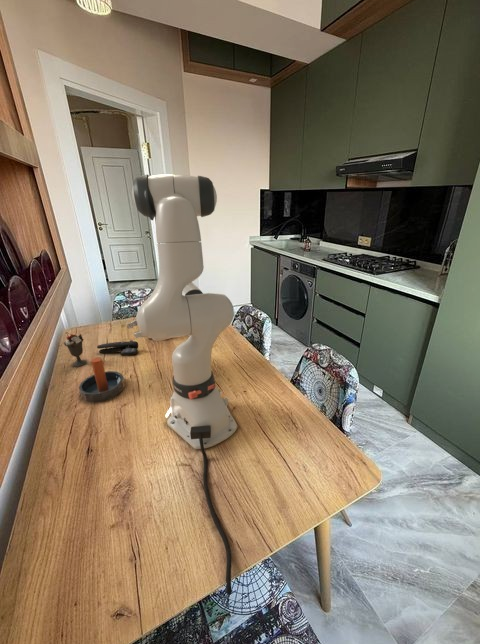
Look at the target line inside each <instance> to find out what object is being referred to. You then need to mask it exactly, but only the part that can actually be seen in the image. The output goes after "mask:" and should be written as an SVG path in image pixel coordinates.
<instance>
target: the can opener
mask: <svg viewBox="0 0 480 644" xmlns="http://www.w3.org/2000/svg"><path fill="white" fill-rule="evenodd" d="M138 348H139V343H138V341H135V340H133V339H131V340H129V341H124V340H121V341H115V342H107V343H101V344H98V345H97V346H96V349H99V351H98V353H99V354H109V353H115V352H120V355H121V356H123V357H132V356H135V355H136V354H137V353H138V352H139V349H138Z"/></svg>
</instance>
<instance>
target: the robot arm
mask: <svg viewBox="0 0 480 644" xmlns="http://www.w3.org/2000/svg"><path fill="white" fill-rule="evenodd" d="M217 195H218V194H217V191H216V187H215V186H214V182H213V181H212V180H211V179H210V177H207V176H203V175H197V176H194V175H185V174H174V173H160V174H153V175H149V174H143V175H138V176H136V177H135V179H134V180H133V182H132V189H131V196H132V201H133V204H134V205H135V207H136V210H137V211H138V212H139V213H140V214H141V215H143V216H144V217H146V218H149V220H150V221H154V219H155V238H156V243H157V244H156V246H157V254H158V271H159V272H158V279H157V282H156V285H155V288H154V290H153V291H152V293H151V294H150V295H149V297H148V298H146V299H145V301H143V303H141V305H140V306H139V308H138V309H137V312H136V315H135V318H136V319H134V320H132V321H130V322H126V324H125V325H126V326H125V327H126V328H127V329H128V330H129V329H133V328H134V327H136V326H137V327H138V329H139V330H137V331H134V332H133V336H134V338H135V339H139V338H147V339H149V338H152V339H151V340H152V341H154V342H160V341H166V340H165V339H167V340H169V339H172V338H173V339H174V338H179V337H185V336H188V337H187V338H186V340H184V341H183V342H181V343H180V344H179V345H177V346H176V347H175V349H174V350H173V352H172V354H171V364H172V372H173V374H172V387H173V393H172V394H171V397H170V398H169V402H170V404H169V405H170V407H169V409H168V410H167V412H166V414H165V418H168V419H167V420H166V425H167V426H168V427H169V428H170V429H171V430H172V431H174V432H175V433H176V434H177V435H178V436H179V437H180V438H181V439H183V440H184V441H185V442H186V443H187V444H188V445H190V446H191V447H192V448H193V449H194V450H200V451H201V454H202V458H203V474H202V475H203V476H202V481H203V482H202V483H203V489H204V494H205V499H206V503H207V506H208V509H209V512H210V516H211V518H212V522H213V524H214V525H215V527H216V529H217V531H218V533H219V535H220V537H221V539H222V542H223V545H224V548H225V554H226V569H225V588H226V591H225V592H226V595H228V596H230V595H232V591H233V590H232V562H233V561H232V560H233V559H232V550H231V546H230V542H229V539H228V537H227V535H226V532H225V530H224V529H223V526H222V524H221V523H220V521H219V519H218V516H217V514H216V511H215V508H214V504H213V502H212V498H211V495H210V489H209V483H208V465H209V464H208V456H207V451H206V450H205V449H209V448H211V447H214V446H217V445H218V444H221V443H222V442H224V441H225V440H227V439H229V438H230V437H232V435H234V434H235V433H236V431H237V429H238V424H237V422H236V420H235V419H234V417H233V415H232V413H231V412H230V410H229V408H228V406H229V400H228V398H227V397H222V395H221V393H222V390H221V388H218V386H217V385H216V380H215V376H214V372H213V370H212V352H213V348H214V345H215V343H216V341H217V339H218V338H219V336H220V335H221V334H222V333H223V332H224V331H225V330H226V329H228V327H229V326H230V325H231V324H232V322H233V319H234V316H235V309H234V306H233V303H232V301H231V300H230V298H229V297H228V296H227V295H225V294H223V293H212V292H207V293H203V291H202V290H201V289H200V288H199V287H198V286H197V285H196V284H195V283H193V282H194V281H196V280H197V279H199V278H200V276H202V274H203V272H204V257H203V256H204V255H203V246H202V237H201V236H202V235H201V229H200V224H199V219H198V217H201V218H204V217H209V216H210V215H212V214H213V213H214V212H215V209H216V206H217V202H218V196H217ZM169 415H170V416H169ZM226 583H227V584H226Z"/></svg>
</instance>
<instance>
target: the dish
mask: <svg viewBox="0 0 480 644" xmlns="http://www.w3.org/2000/svg"><path fill="white" fill-rule="evenodd" d="M105 374H106V379H107V383H108V390H106V391H103V392H99V391H98V387H97V383H96V379H95V375H94V374H92V375H90V376H88V377H86V378H85V379H83V380H82V381H81V382H80V384H79V386H78V390H79V393H80V397H81V399H82V400H83V401H85V402H88V403H89V402H90V403H98V402H103V401H107V400H110V399H112V398H114V397H116V396H117V395H119V394H120V393H121V392H122V391H123V390H124V389H125V385H126V382H125V377H124V375H123V374H122V373H121V372H119V371H116V370H115V371H112V370H107V371H105Z"/></svg>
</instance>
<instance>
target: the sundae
mask: <svg viewBox="0 0 480 644" xmlns="http://www.w3.org/2000/svg"><path fill="white" fill-rule="evenodd" d="M65 334H66V335H67V337H66V339H65V341H64V342H63V345H64V346H65V347H67V349H68V351H69V353H70V355H71V356H73V357H74V358H76V361H74V362H73V364H72V367H75V368H78V367H82V366H84V365H86V364H87V362H88V361H87V360H85V359H81V355H82V354H83V351H84V350H83V349H84V348H83V343H84V338H83V335H82V334H81V333H79V335H77V334H73V333H72V334H71V333H69V332H68V331H66V332H65Z"/></svg>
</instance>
